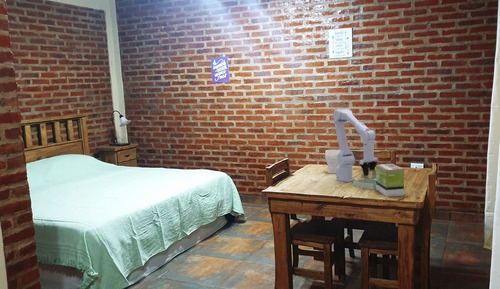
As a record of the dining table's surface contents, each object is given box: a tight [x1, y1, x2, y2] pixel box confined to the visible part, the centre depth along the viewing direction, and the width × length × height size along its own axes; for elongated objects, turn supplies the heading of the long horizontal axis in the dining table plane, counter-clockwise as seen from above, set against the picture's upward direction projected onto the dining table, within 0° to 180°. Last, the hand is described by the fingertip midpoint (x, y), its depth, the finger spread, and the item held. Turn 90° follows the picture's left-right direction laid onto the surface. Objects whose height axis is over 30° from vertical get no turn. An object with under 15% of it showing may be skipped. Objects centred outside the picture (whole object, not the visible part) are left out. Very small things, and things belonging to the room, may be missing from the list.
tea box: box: [375, 163, 405, 198], centre depth 231 cm, size 15×10×15 cm, turn 5°
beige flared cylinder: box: [324, 149, 340, 174], centre depth 291 cm, size 11×11×15 cm
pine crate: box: [360, 169, 376, 180], centre depth 248 cm, size 7×5×4 cm
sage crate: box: [352, 178, 376, 191], centre depth 249 cm, size 13×11×3 cm
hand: (368, 174), depth 248 cm, fingers closed on pine crate, 5 cm apart
